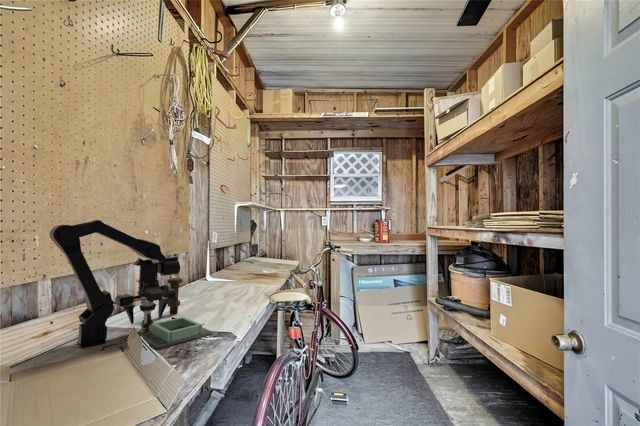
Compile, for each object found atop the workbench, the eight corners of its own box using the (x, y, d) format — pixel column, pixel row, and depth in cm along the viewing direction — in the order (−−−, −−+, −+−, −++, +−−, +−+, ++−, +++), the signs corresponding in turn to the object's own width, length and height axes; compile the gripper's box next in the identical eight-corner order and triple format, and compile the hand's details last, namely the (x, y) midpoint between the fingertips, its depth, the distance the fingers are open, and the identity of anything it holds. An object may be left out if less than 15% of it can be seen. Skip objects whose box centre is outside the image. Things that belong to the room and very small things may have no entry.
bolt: (182, 314, 129) (183, 279, 130) (170, 316, 126) (171, 280, 127) (176, 311, 133) (178, 277, 134) (164, 314, 130) (166, 278, 131)
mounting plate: (157, 349, 92) (157, 345, 92) (139, 337, 101) (140, 334, 101) (211, 334, 106) (211, 331, 106) (191, 325, 115) (191, 322, 115)
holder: (168, 342, 95) (168, 332, 95) (150, 332, 104) (151, 323, 104) (202, 333, 104) (202, 324, 104) (183, 325, 112) (184, 316, 113)
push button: (149, 334, 105) (150, 305, 106) (133, 334, 105) (134, 305, 105) (157, 327, 112) (158, 300, 112) (142, 328, 111) (143, 300, 112)
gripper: (127, 283, 97) (124, 332, 96) (184, 276, 111) (182, 319, 110) (115, 279, 104) (113, 325, 103) (170, 273, 118) (169, 314, 118)
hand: (146, 320), depth 109 cm, fingers open, 9 cm apart
